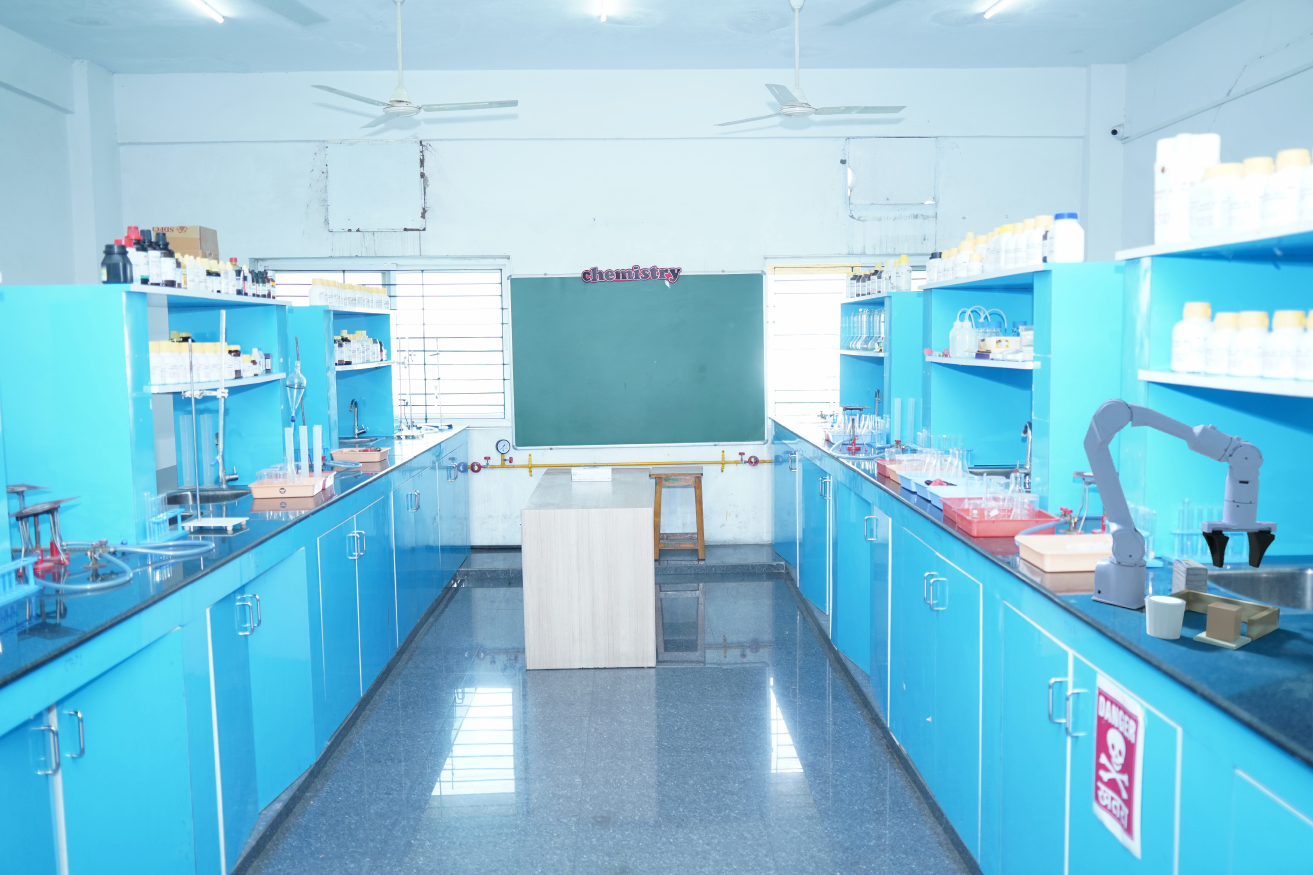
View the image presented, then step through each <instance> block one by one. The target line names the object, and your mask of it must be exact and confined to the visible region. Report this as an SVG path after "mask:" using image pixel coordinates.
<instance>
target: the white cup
mask: <svg viewBox="0 0 1313 875" xmlns="http://www.w3.org/2000/svg"><path fill="white" fill-rule="evenodd" d="M1144 600H1146V606H1145V619H1146V621H1145V624H1146V634H1147V635H1148V636H1150V637H1151V636H1152V637H1154V638H1158V639H1163V640H1177V639H1180V637H1181V633H1182V632H1181V631H1182V626H1183V620H1184V615H1185V611H1184V610H1185V604H1186V601H1184V600H1182V599H1179V598H1176V597H1171V596H1169V595H1165V594H1164V595H1163V594H1148V595H1146V596H1145V597H1144Z"/></svg>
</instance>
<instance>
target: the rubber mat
mask: <svg viewBox="0 0 1313 875" xmlns="http://www.w3.org/2000/svg"><path fill="white" fill-rule="evenodd" d="M1192 640H1193V641H1196V642H1200V643H1204V644H1209V645H1213V646H1217V647H1222V648H1225V649H1230V650H1234V651H1235V650H1237V649H1238V648H1241V647H1242V646H1245V645H1246V644H1247V645H1248V643H1251V642H1252V641H1251V638H1249V637H1246V636H1243V635H1240V638H1238V639H1237V640H1236V641H1234V642H1228V641H1224V640H1219V639H1214V638H1210V637H1206V630H1205V631H1203V632H1200V633H1199V634H1197V635H1194V636H1193V639H1192Z"/></svg>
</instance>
